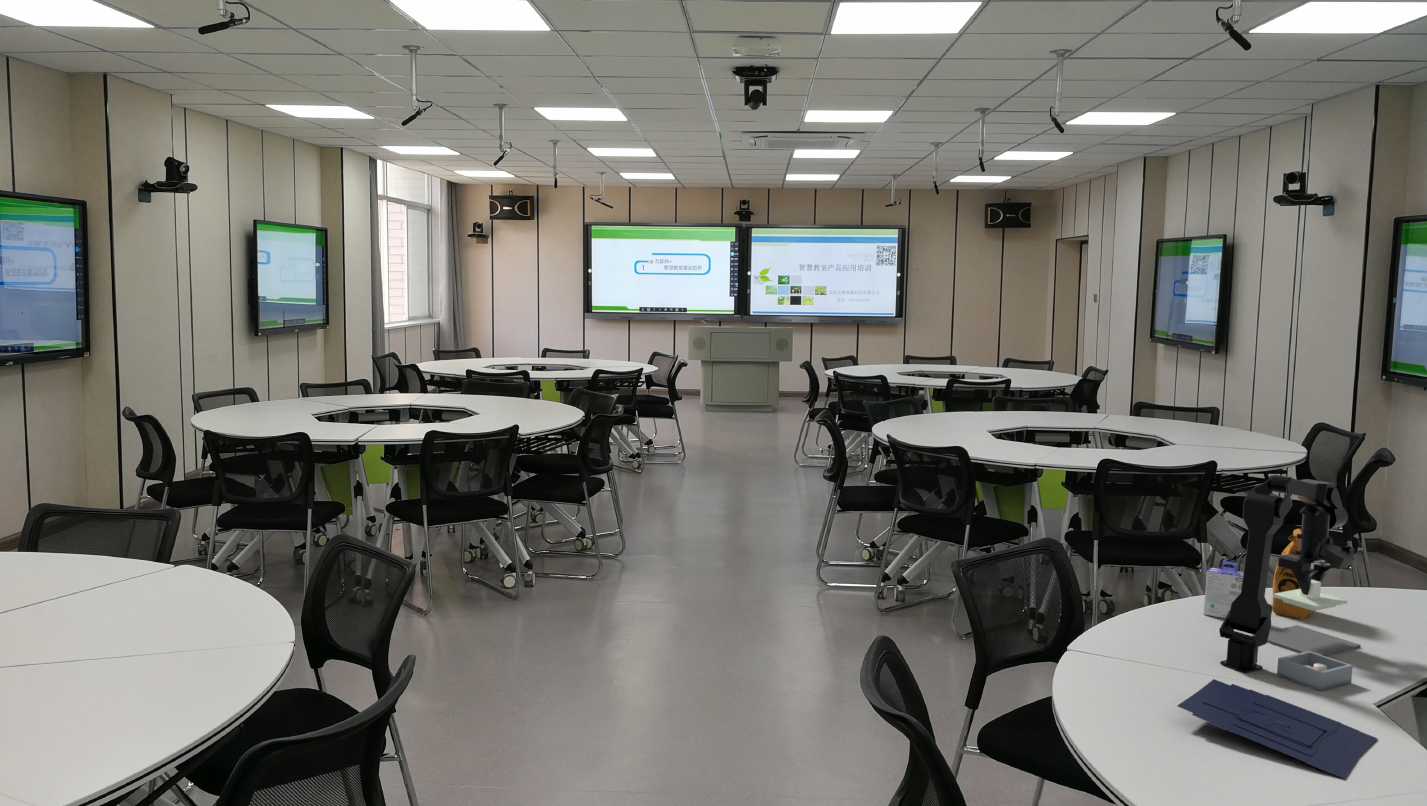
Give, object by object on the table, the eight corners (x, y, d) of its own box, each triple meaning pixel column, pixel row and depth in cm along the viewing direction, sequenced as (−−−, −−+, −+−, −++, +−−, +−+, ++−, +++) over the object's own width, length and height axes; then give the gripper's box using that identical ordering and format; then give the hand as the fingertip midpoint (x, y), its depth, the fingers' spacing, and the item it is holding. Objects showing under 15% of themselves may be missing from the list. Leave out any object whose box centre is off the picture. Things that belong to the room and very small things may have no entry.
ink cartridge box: (1247, 617, 269) (1252, 564, 268) (1243, 622, 265) (1248, 568, 263) (1207, 610, 275) (1211, 557, 274) (1202, 615, 271) (1206, 562, 269)
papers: (1214, 688, 217) (1217, 672, 216) (1374, 750, 197) (1379, 733, 196) (1170, 721, 200) (1173, 704, 199) (1340, 793, 180) (1345, 774, 179)
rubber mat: (1314, 658, 239) (1315, 656, 239) (1252, 637, 254) (1252, 635, 253) (1360, 647, 248) (1360, 644, 247) (1297, 627, 262) (1297, 625, 262)
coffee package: (1265, 613, 273) (1271, 533, 271) (1275, 602, 283) (1281, 525, 280) (1307, 621, 267) (1313, 539, 264) (1316, 610, 276) (1322, 531, 274)
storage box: (1320, 691, 219) (1322, 673, 219) (1276, 675, 228) (1278, 658, 228) (1351, 682, 224) (1352, 665, 224) (1307, 667, 233) (1308, 650, 233)
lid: (1316, 613, 242) (1318, 590, 241) (1272, 600, 251) (1274, 578, 251) (1346, 607, 247) (1348, 584, 246) (1302, 595, 257) (1304, 572, 256)
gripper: (1324, 542, 236) (1318, 608, 238) (1371, 535, 245) (1365, 598, 246) (1278, 532, 246) (1273, 595, 248) (1325, 525, 254) (1320, 586, 256)
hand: (1309, 593), depth 249 cm, fingers closed on lid, 3 cm apart
